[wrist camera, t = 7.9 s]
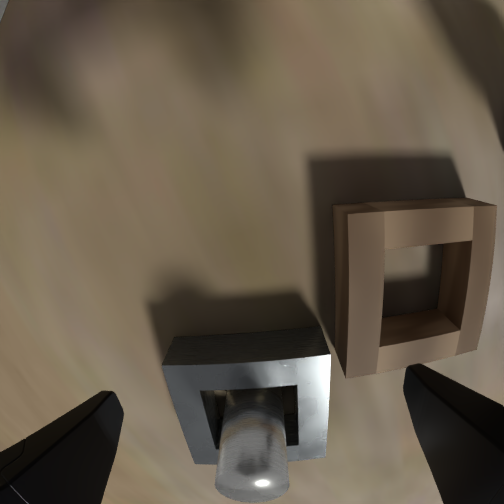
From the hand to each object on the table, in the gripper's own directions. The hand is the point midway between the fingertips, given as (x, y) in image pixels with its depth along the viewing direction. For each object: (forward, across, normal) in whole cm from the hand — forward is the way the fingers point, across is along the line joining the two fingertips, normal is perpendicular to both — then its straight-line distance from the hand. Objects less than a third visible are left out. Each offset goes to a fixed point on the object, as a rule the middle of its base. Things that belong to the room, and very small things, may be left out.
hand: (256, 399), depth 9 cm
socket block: (+12, -10, +2) cm, 15 cm away
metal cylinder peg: (+12, +2, +9) cm, 15 cm away
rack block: (+12, +2, +10) cm, 15 cm away
